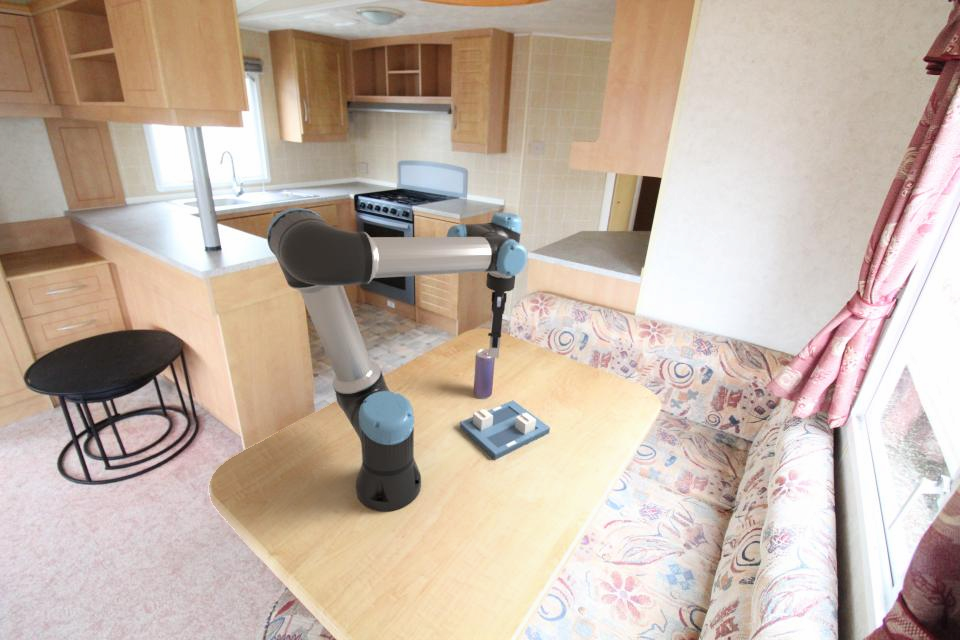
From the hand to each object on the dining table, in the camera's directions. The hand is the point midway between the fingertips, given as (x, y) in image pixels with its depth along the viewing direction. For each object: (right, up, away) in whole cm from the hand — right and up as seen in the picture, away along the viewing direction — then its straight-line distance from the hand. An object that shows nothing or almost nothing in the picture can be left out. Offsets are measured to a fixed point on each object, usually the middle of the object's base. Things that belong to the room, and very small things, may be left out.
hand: (494, 345), depth 130 cm
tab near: (+9, -24, +1) cm, 25 cm away
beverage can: (-3, -17, +19) cm, 25 cm away
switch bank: (+3, -24, +2) cm, 25 cm away
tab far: (-3, -23, +2) cm, 23 cm away
